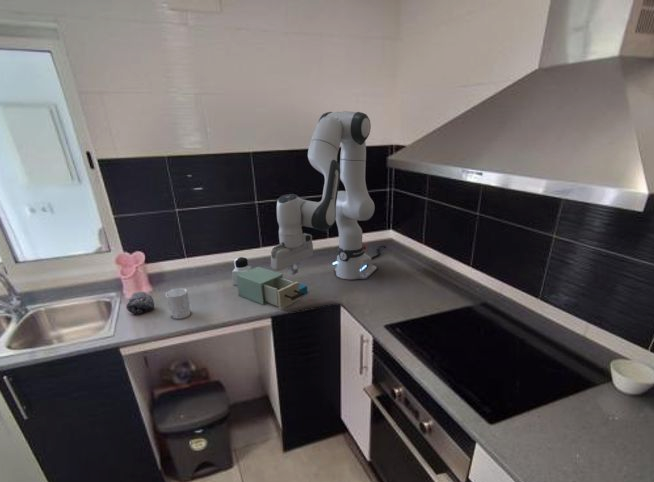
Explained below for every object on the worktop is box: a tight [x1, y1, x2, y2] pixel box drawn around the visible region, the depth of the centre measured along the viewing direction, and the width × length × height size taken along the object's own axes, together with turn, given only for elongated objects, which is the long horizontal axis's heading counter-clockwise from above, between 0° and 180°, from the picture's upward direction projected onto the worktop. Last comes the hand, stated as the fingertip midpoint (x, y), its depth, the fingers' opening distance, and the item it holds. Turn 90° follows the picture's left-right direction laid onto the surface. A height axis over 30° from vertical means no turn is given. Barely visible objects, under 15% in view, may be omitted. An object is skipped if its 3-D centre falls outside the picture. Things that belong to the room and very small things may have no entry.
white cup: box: [165, 287, 191, 320], centre depth 150 cm, size 8×8×10 cm
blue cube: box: [299, 283, 308, 297], centre depth 168 cm, size 4×4×4 cm
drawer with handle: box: [262, 277, 305, 310], centre depth 159 cm, size 19×11×8 cm, turn 53°
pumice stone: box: [125, 291, 156, 315], centre depth 155 cm, size 10×8×10 cm
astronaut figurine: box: [231, 256, 253, 286], centre depth 177 cm, size 7×7×12 cm
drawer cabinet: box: [236, 266, 284, 305], centre depth 166 cm, size 16×13×10 cm
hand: (294, 273), depth 150 cm, fingers closed
